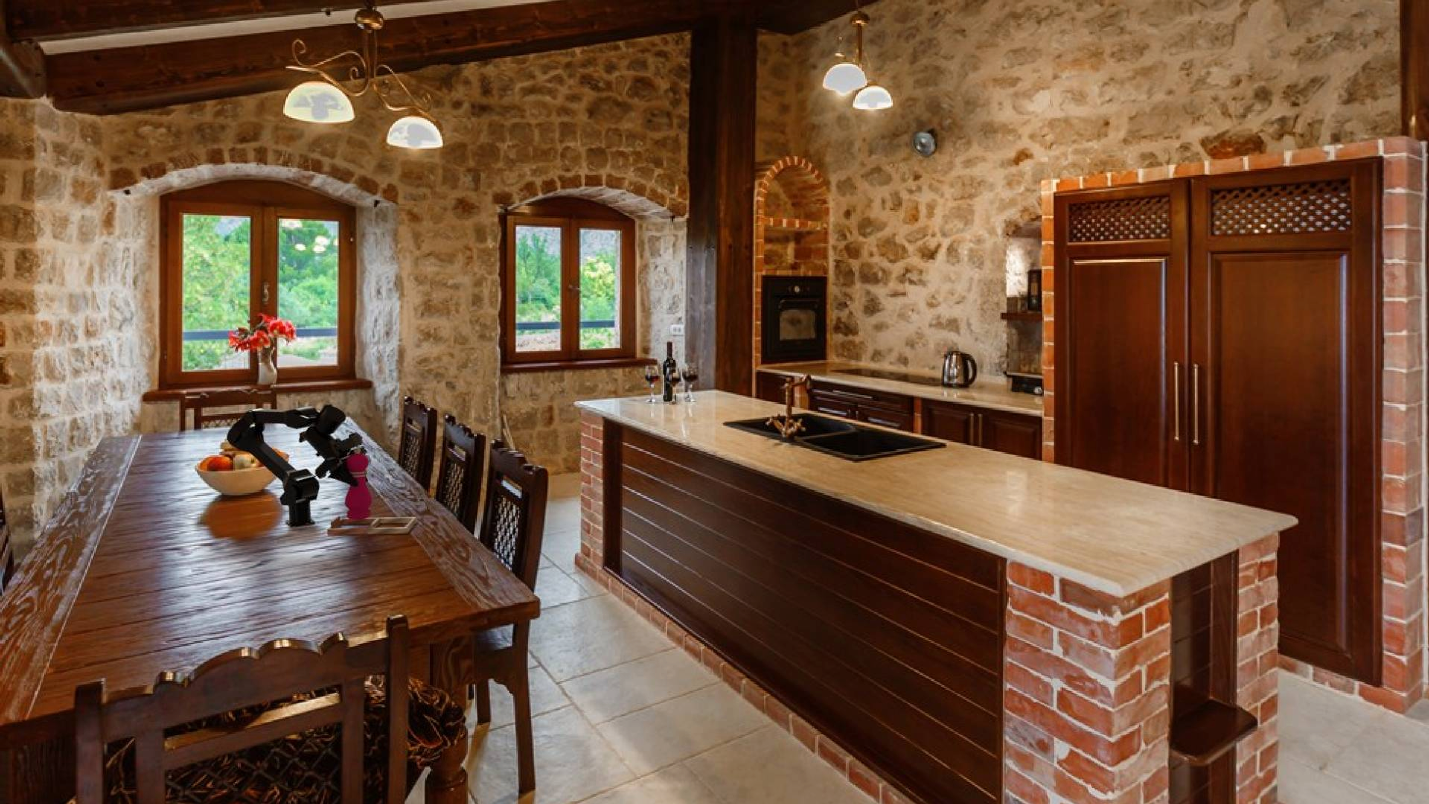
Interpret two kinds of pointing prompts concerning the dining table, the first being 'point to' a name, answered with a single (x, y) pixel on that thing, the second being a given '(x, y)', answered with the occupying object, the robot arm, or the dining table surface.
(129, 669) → the dining table surface
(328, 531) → the rack
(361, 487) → the pepper mill
